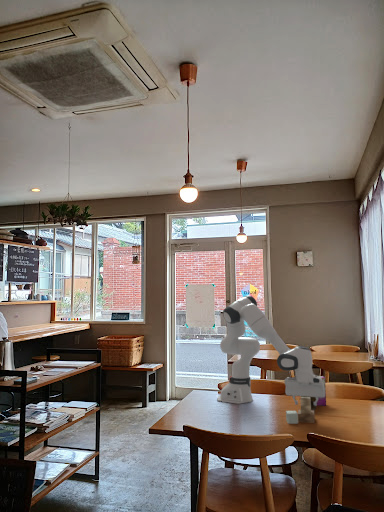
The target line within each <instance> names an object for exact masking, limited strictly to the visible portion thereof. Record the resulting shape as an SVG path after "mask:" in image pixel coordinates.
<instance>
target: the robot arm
mask: <svg viewBox="0 0 384 512" xmlns="http://www.w3.org/2000/svg"><path fill="white" fill-rule="evenodd" d="M222 316H223V318H224V320H225V323H226V329H227V331H226V332H227V334H226V335H225V337H223V338H222V339H221V341H220V344H219V345H220V346H219V347H220V350H221V352H222V353H223V354H227V355H232V356H233V355H235V356H236V355H238V356H240V359H237V360H236V361H233V363H232V365H231V376H230V377H229V378H228V383H227V384H226V385H225V386H224V387H222V389H221V390H220V395H218V396H217V398H216V401H217V400H218V401H217V402H221V401H222V403H231V404H238V405H240V404H243V403H244V404H245V403H251V402H253V401H254V399H253V395H252V389H251V386H252V385H251V384H252V383H251V376H250V375H251V374H250V367H251V362H252V359H253V358H254V357H255V356H256V355H257V354H258V353H260V350H261V344H260V341H259V340H258V339H257V338H254V337H248V336H247V337H243V335H244V334H245V332H246V325H245V322H246V324H247V325H248V327H249V329H250V330H251V331H252V333H253V334H255V335H256V336H257V337H258V338H262V339H263V340H264V339H265V340H266V341H268V342H269V343H270V344H271V345H272V346H273V348H274V349H275V350H276V351H277V353H278V354H279V355H278V357H277V359H276V365H277V366H278V368H279V369H281V370H282V371H286V372H289V371H295V376H294V377H290V376H288V377H286V378H284V385H285V390H284V391H285V394H286V396H290V397H292V398H291V399H292V400H293V401H294V405H297V406H298V405H299V402H298V401H299V400H296V397H301V396H306V397H316V401H315V402H314V406H316V407H318V406H317V401H318V397H323V398H324V397H325V388H324V384H323V383H322V378H321V377H320V375H316V374H315V373H314V371H313V355H312V351H311V349H310V348H309V347H307V346H302V345H297V346H295V347H294V348H291V347H289V346H288V345H287V344H286V343H285V341H284V340H283V338H282V337H281V336H280V335H279V334H278V332H277V330H276V329H275V327H273V325H272V323H271V321H270V320H269V319H268V317H267V316H266V314H265V313H264V312H263V311H262V310H261V308H259V307H258V302H257V300H256V299H255V297H253V296H252V295H251V294H249V295H245V296H242V297H240V298H238V299H237V300H235V301H234V302H233V303H231V304H229V305H227V306H226V307H225V308H224V309H223V311H222Z"/></svg>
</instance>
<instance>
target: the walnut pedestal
mask: <svg viewBox="0 0 384 512" xmlns="http://www.w3.org/2000/svg"><path fill="white" fill-rule="evenodd" d="M297 413H298V423H308V424H309V423H310V424H315V422H316V421H315V419H316V418H315V410H311V414H306V413H301V409H298V411H297Z"/></svg>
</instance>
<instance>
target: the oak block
mask: <svg viewBox="0 0 384 512" xmlns="http://www.w3.org/2000/svg"><path fill="white" fill-rule="evenodd" d="M299 399H300V400H299V401H300V410H301V413H306V414H311V399H310V397H301V396H300V398H299Z"/></svg>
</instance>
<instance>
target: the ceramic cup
mask: <svg viewBox="0 0 384 512" xmlns="http://www.w3.org/2000/svg"><path fill="white" fill-rule="evenodd" d="M301 397H306V396H300V398H301ZM310 399H311V410H312V411H315V410H316V409H317V406H314V402H315V401H316V397H310Z"/></svg>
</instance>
